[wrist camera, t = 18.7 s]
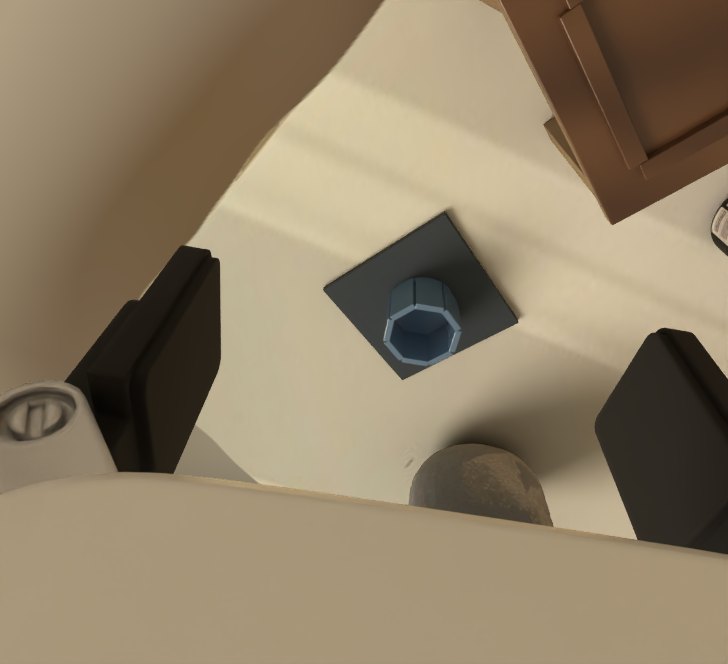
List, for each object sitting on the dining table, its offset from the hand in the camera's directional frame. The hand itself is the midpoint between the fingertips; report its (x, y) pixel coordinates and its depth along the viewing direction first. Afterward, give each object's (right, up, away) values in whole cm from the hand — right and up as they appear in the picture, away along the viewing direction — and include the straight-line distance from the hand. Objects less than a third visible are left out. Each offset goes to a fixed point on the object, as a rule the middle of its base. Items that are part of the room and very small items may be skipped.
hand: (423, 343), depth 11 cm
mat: (+4, +3, +40) cm, 41 cm away
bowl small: (+4, +3, +40) cm, 40 cm away
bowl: (+12, -16, +54) cm, 57 cm away
